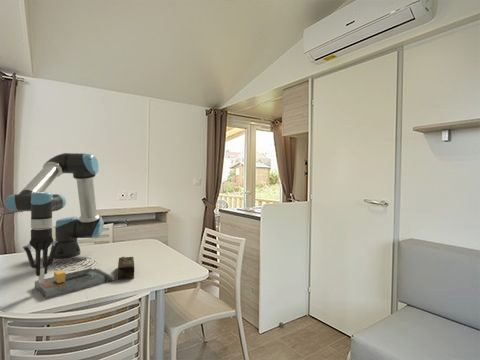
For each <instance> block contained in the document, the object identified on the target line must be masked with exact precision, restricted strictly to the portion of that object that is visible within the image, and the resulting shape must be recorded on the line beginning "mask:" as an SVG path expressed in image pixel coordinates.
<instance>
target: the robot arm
mask: <svg viewBox="0 0 480 360" xmlns="http://www.w3.org/2000/svg"><path fill="white" fill-rule="evenodd" d="M98 173H99V161H98V159H97V157H96V156H95V154H91V153H76V152H75V153H74V152H73V153H72V152H71V153H70V152H68V153H67V152H63V153H60V154H57V155H55V156H53V157H51V158H50V159H48V160H47V161H46V162H45V163H43V166H42V169H41V170H40V171H39V172H38V173H37V174H36V175H35V176H34V178H32V179H31V180H30V182H28V184H26V185H25V187H24V188H22V190H21V191H20V192H18V194H16V193H15V194H10V195H7V197H6V198H5V202H4V203H5V208H6V209H7V210H8V211H10V212H30V228H31V230H30V240H29V243H28V244H26V245H23V247H22V249H23V250H24V251H25V253H26V257H27V259H28V260H27V261H28V263H29V266H30V268H32V269H35V275H36V276H37V277H38V280H37V281H38V282H39V283H40V284H41V283H44V279H45V275H47V274H48V267H49V266H51V265H52V264H53V263H54V262H53V261H54V259H69V258H73V257H77V256H79V255H81V247H80V245H79V243H78V239H95V238H96V239H97V238H99V237H100V236H101V235H102V233H103V232H104V231H103V230H104V225H105V223H104V219H102V218H100V215H99V214H98V213H97V204H96V196H95V195H96V194H95V185H94V179H95V177H96V174H98ZM62 174H72V177H73V179H75V181H76V185H77V186H76V187H77V194H78V201H79V211H80V216H79V217H77V216H68V217H63V218H60V219H57V220H56V222H55V225H54V226H55V227H54V228H55V236H54V237H55V240H54V238H53V212H56V211H59V210H62V209H63V208H65V206H66V203H67V199H66V198H65V196H63V195H62V194H60V193H59V194H57V193H54V194H52V192H50V191H46V190H47V189H48V188H49V187H50V186H51V184H52V183H53V182H54V181H55V179H56V178H58V177H61V175H62ZM50 247H51V248H50ZM32 248H33V249H34V252H35V259H34V257H33V254H32V250H31V249H32ZM49 248H50V252H49ZM41 252H42V253H41ZM48 252H49V253H48ZM41 254H42V265H41ZM48 254H49V255H48ZM34 260H35V261H34Z"/></svg>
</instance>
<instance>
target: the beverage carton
mask: <svg viewBox="0 0 480 360" xmlns="http://www.w3.org/2000/svg"><path fill="white" fill-rule="evenodd" d="M134 260H135V259H134V256H121V257H119V258H118V262H117V264H118V265H117V272H116V273H117V274H116V275H117V277H116V278H117V281H119V280H120V281H121V280H131V279H134V278H135V261H134Z"/></svg>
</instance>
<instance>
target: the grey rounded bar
mask: <svg viewBox="0 0 480 360" xmlns="http://www.w3.org/2000/svg"><path fill="white" fill-rule="evenodd" d="M92 269H93V270H95V271H96V272H98V273H100V274H102V275H103V276H105V282H111V281H114V280H115V279H116V277H115V276H113V275H112V274H109V273H108V272H106V271H104V270H103V269H100V268H92Z"/></svg>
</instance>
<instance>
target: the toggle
mask: <svg viewBox="0 0 480 360" xmlns="http://www.w3.org/2000/svg"><path fill="white" fill-rule="evenodd" d="M65 274H66V272H65V271H64V270H62V269H60V270H56V271H55V270H54V271H53V277H54V281H55V282H57V283H61V282H65Z"/></svg>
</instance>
